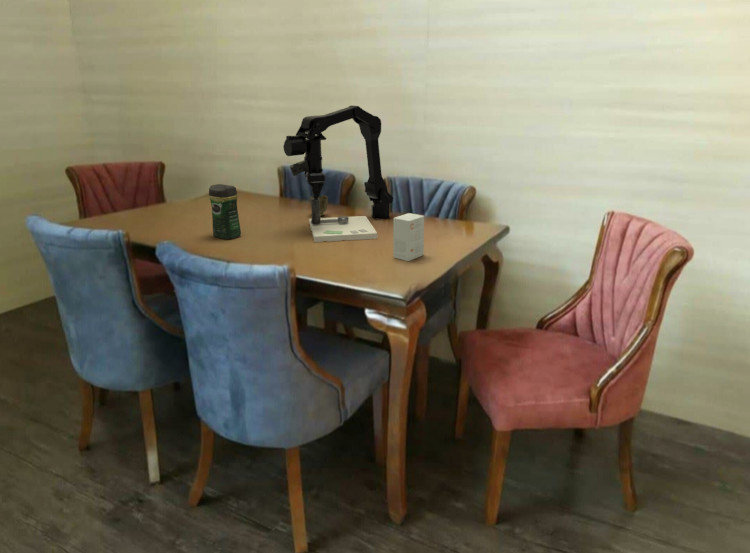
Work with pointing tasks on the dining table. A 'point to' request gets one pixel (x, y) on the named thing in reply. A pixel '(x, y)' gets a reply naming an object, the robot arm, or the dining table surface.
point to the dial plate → (343, 230)
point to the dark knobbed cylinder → (316, 214)
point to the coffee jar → (224, 211)
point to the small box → (408, 236)
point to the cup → (322, 203)
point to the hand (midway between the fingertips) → (315, 197)
